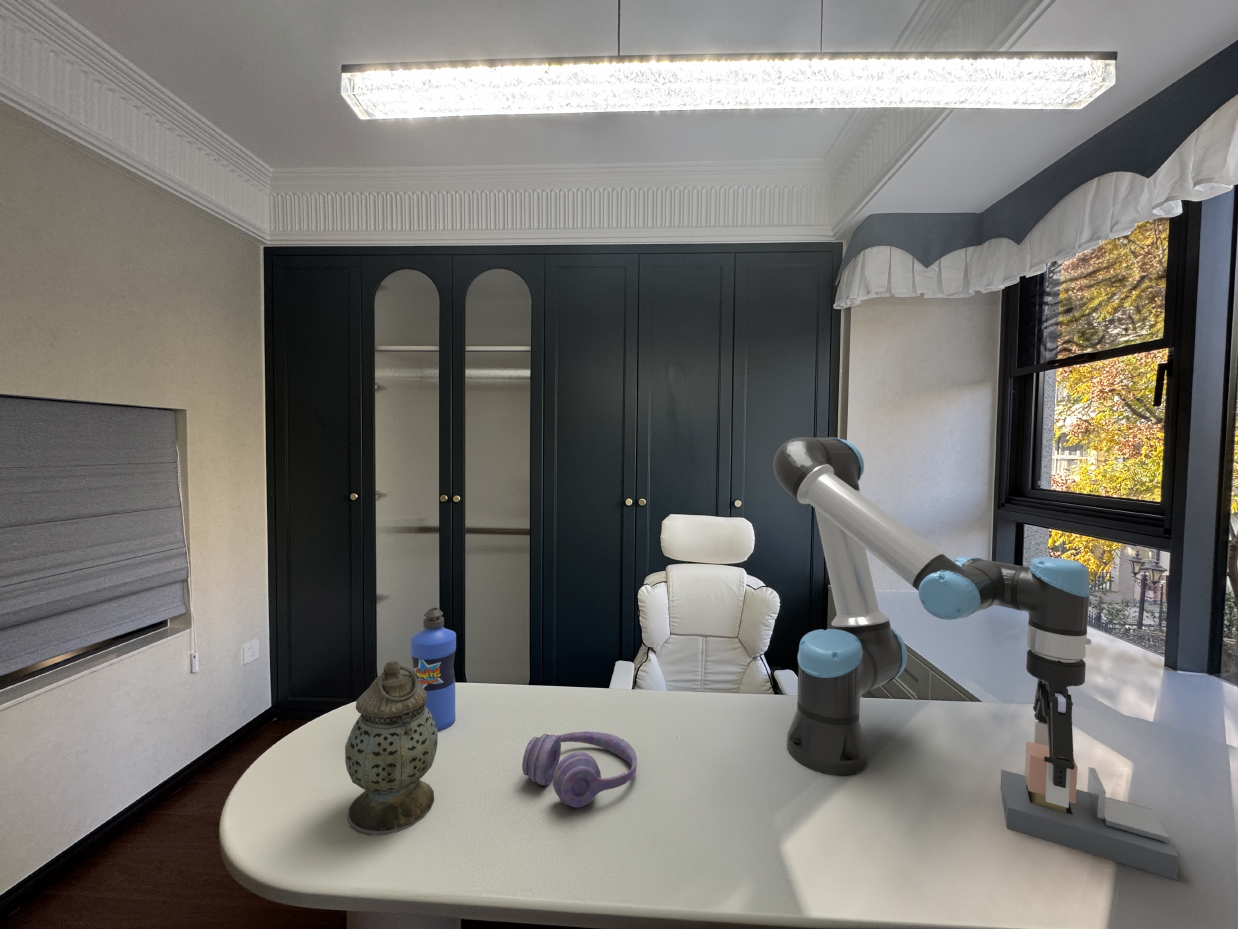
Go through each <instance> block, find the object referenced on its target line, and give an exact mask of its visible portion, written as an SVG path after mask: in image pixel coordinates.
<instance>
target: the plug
mask: <svg viewBox="0 0 1238 929" xmlns="http://www.w3.org/2000/svg"><path fill="white" fill-rule="evenodd" d="M1025 743H1026V744H1025V763H1024V775H1025V778H1026V782H1027V786H1028V791H1031V792H1032V796H1031V803H1032V804H1036V805H1039V806H1043V807H1046V808H1050V809H1053V810H1057V811H1061V812H1064V813H1066V807H1063V806H1060V805H1056V804H1053V803H1049V802H1046V799H1045V797H1046V777H1047V762H1044V757H1045V756H1046V757H1049V746H1045V745H1041V744H1037V743H1034V741H1032V742H1031V741H1027V740H1026V742H1025ZM1062 758H1063V757H1062ZM1074 764H1075V768H1074V770H1072V769H1070V787H1069V802H1071V803H1075V804H1076V789H1077V783H1078V780H1077V779H1078V765H1077V762H1076V760H1075V759H1074Z"/></svg>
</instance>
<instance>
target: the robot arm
mask: <svg viewBox="0 0 1238 929" xmlns="http://www.w3.org/2000/svg"><path fill="white" fill-rule="evenodd" d="M864 462H865V461H864V459H863V455H862V453H861V452H860V449H858V448H857V446H855V444H853V443H851V442H850V441H848V440H846V439H841V438H838V437H833V436H832V437H831V436H829V437H807V436H804V437H803V436H800V437H798V436H797V437H793V438H791V439H789V440H787V441H786V442H784V443H782V445H781V446H780V447H779V448H778V450H777V451H776V453H775V455H774V457H773V462H772V463H773V464H772V466H773V468H772V469H773V472H774V477H775V478H776V481H777V482H778V483H779V484H780V486H781V487H782V488H783V489H784V490H785V491H786V492H787V493H788V494H789V495H790V496H791V497H793V499H795V500H796V501H797V502H798V503H800V504H802V505H808V504H810V505H811V506H812V507H813V508H814V510H815V515H816V521H817V524H818V525H817V526H818V530H819V536H820V542H821V545H822V549H823V555H824V558H825V559H824V560H825V563H826V568H827V574H828V578H829V584H830V589H831V593H832V598H833V601H834V602H833V603H834V607H835V611H836V616H835V617H834V619H833V620H832V621H831V622H830V623H831V628H827V629H825V630H824V629H822V628H821V629H820V628H819V629H815V630H812V631H809V632H807V633H806V634H805V635H803V636H802V638H801V639H800V642H799V646H798V653H797V664H798V668H797V702H796V703H797V704H796V711H795V714H794V716H793V718H792V721H791V724H790V726H789V729H788V731H787V737H786V738H787V739H786V740H787V741H786V748H787V750H788V752H789V754H790V755H791V756H792V757H793V759H794V760H796V761H798V762H799V763H800V764H802V765H804V766H805V767H807V768H810V769H812V770H814V771H817V772H821V773H823V774H824V773H825V774H830V775H839V776H840V775H841V776H848V775H854V774H857V773H861V772H862V771H864V770H865V769H866V767H867V766H868V762H869V750H868V749H869V748H868V745H867V742H866V739H865V738H866V737H865V735H864V732H863V728H862V724H861V721H860V712H861V710H860V709H861V696H862V695H863V694H865V693H869V692H870V691H871V690H874V689H876V688H879V687H881V686H885V685H888V684H889V683H891V682H893V681H894V680H895V679H896V678H898V677H900V675H901V674H902V673H903V671H904V670H905V669H906V666H907V662H908V649H907V645H906V643H905V641H904V639H903V638H902V636H901V635H900V634H899V633H897V632H896V630H895V629H894V628H893V627H891V622H890V618H889V617H888V616H887V615H886V614H884V613H883V612H882V611H881V610H880V608H879V605H878V601H877V596H876V592H875V591H876V590H875V586H874V581H873V576H872V572H871V568H870V563H869V559H868V555H867V551H868V552H869V553H870V554H872V556H874V557H875V558H877V559H878V560H879V561H880V562H881V563H883V564H884V565H885V566H887V567H888V568H889V569H890V570H892V571H893V572H894V573H896V574H897V575H898V576H899V577H900V578H901V579H903V580H904V581H905V582H906V583H908V584H909V585H910V586H912V587H913V588H914V589H915V590H916V591H918V598H919V601H920V602H921V605H922V607H923V608H924V610H926V612H928V613H929V614H930V615H932V616H933V617H935V618H937V619H941V620H944V621H945V620H947V621H948V620H949V621H952V620H957V619H958V620H959V619H965V618H968V617H970V616H972V615H973V614H975V613H976V612H979V611H982V610H986V609H988V608H990V607H994V606H998V607H1003V608H1007V609H1012V610H1015V611H1021V612H1025V613H1028V622H1027V634H1026V635H1027V636H1026V638H1027V640H1026V646H1027V647H1028V648H1029V649H1028V650H1027V651H1026V665H1025V666H1026V671H1027V673H1029V675H1031V676H1032V677H1034V678H1035V679H1037V682H1036V683H1037V684H1036V689H1035V696H1034V703H1033V706H1032V708H1033V709H1032V710H1033V712H1034V716H1033V717H1034V719H1035V720H1034V729H1033V730H1034V731H1033V732H1034V733H1033V735H1034V736H1033V743H1037V744H1041V745H1045V746H1049V757H1046V756H1045V757H1044V762H1047V777H1046V797H1045V799H1046V802H1049V803H1053V804H1056V805H1060V806H1063V807H1067V808H1068V806H1069V787H1070V769H1072V770H1074V768H1075V764H1074V760H1075V757H1074V742H1073V741H1074V737H1073V706H1074V703H1073V699H1072V694H1070V693H1069V687H1080V686H1082V685H1083V684H1085V682H1086V681H1085V680H1086V668H1087V667H1086V665H1087V664H1086V661H1085V660H1084V659H1085V658H1086V657H1087V656H1086V655H1087V647H1086V645H1088V646H1089V645H1091V644H1092V639H1091V638H1088V636H1087V634H1088V622H1089V621H1088V620H1089V606H1090V597H1091V590H1090V569H1089V568H1088V567H1087V566H1086V565H1085V564H1084V563H1082V562H1080V561H1076V560H1072V559H1067V558H1061V557H1049V556H1048V557H1047V556H1039V557H1035V558H1033V559H1032V560H1031V564H1030V565H1029V566H1021V565H1017V564H1010V563H1005V562H999V561H993V560H988V559H983V558H981V557H966V556H959V557H956V558H955V559H954V560H952V559H951V558H949V557H948V556H946V555H945V554H944V553H942V552H941V551H940V550H939V549H938V548H936V547H935V546H933V545H931V544H930V543H929V542H927V541H926V540H925V539H923V537H920V536H919V535H918V534H917V533H915V532H913V530H911V529H910V528H908V527H907V526H905V525H904V524H902V523H901V522H900V521H899V520H897V519H896V518H894V517H893V516H892V515H890V514H889V513H888V512H886V511H885V510H883V509H882V508H880V507H879V506H878V505H876V504H875V503H874V502H873V501H871V500H870V499H869V498H867V497H866V496H864V495H863V494H862V493H861V490H860V484H859V481H860V480H861V477H862V476H863V474H864V471H865V463H864ZM1062 757H1063V758H1062Z"/></svg>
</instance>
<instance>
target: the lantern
mask: <svg viewBox="0 0 1238 929" xmlns="http://www.w3.org/2000/svg"><path fill="white" fill-rule="evenodd" d="M426 701H427V692H426V691H425V690H424V689H423V688H422V687H421V686H420V685H419V684H418V680H417V677H416V675H415V674H414V670H412V669H411V668H408V667H406V666H402V665H401V664H400V663H399V662H398V661H396V660H389V661H388V662H387V663H385V664H384V667H383V671H382V673H381V674H380V675H379V676H377V677H376V678H375V679H374V681H373V682H372V683H371V685H370V686H369V687H368V688H367V689H366V690H365V691H363V693H362V694H361V695H360V696H359V697H358V698H357V699H356V701H355V710H356V711H357V713H358V714H360V715H359V717H358V718H357V720H356V721H355V723H354V724H353V727H352V729H351V730H350V733H349V735H348V738H347V741H346V744H345V745H344V761H345V767H346V771H347V774H348V775H349V778H350V780H351V783H353V785H354V784H355V785H356V786H358V787H359V788H361V789H362V790H363V792H362V793H360V794H359V795H358V796H357V797H356V798H355V799H354V800H353V801H352V802H351V803H350V805H349V807H348V808H347V822H348V823H349V826H350V828H351V829H352V830H354V831H355V832H357V833H358V834H364V835H367V836H384V835H389V834H394V833H397V832H401V831H402V830H405V829H407V828H409V827H412V826H413V825H414V824H416V823H418V822H419V821H421V820H422V819H423V818H425V817H426V816H427V814H428V813H429V812H430V811H431V810H432V807H433V805H434V803H435V795H434V794H435V793H434V792H435V791H434V790H433V788H432V787H431V785H430V784H428V783H426V782H425V781H422V780H421V779H422V778H423V777H424V776H425V775H426V774H427V772H428V771H429V770H430V769H431V768H432V766H433V764H434V763H433V762H434V760H435V757H436V754H437V751H438V750H437V749H438V744H439V743H438V740H439V739H438V735H439V732H438V729H437V727H436V724H435V721H434V719H433V716H432V715H431V713H430V711H429V710H428V709H427V707H426V706H425V702H426Z"/></svg>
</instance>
